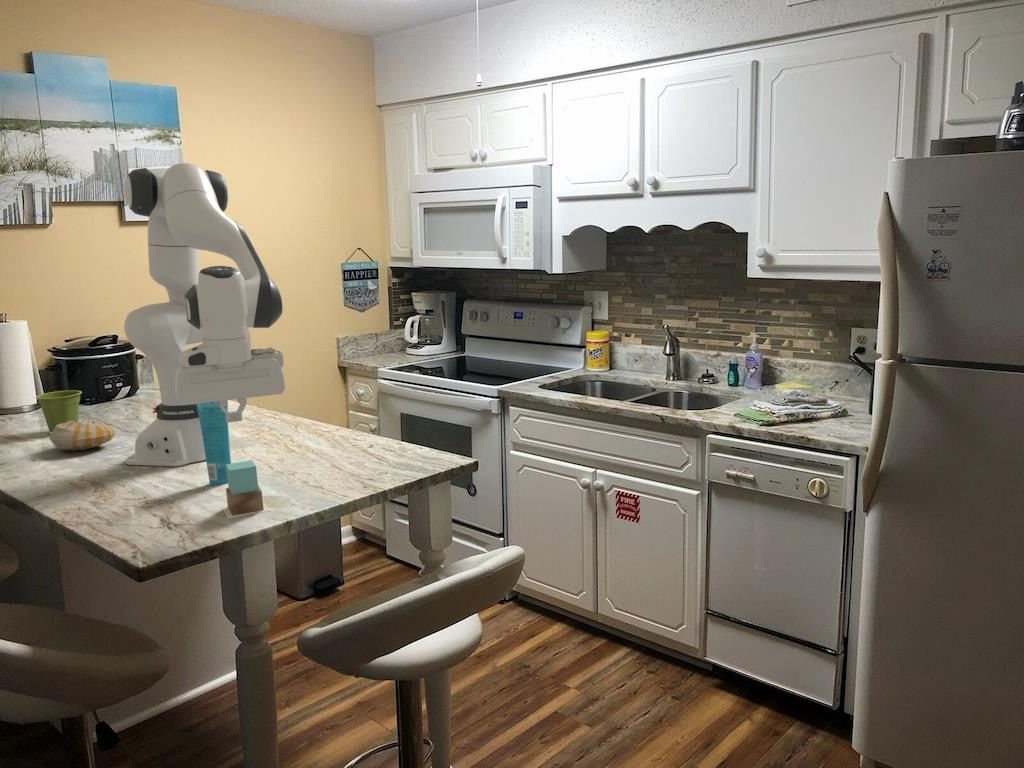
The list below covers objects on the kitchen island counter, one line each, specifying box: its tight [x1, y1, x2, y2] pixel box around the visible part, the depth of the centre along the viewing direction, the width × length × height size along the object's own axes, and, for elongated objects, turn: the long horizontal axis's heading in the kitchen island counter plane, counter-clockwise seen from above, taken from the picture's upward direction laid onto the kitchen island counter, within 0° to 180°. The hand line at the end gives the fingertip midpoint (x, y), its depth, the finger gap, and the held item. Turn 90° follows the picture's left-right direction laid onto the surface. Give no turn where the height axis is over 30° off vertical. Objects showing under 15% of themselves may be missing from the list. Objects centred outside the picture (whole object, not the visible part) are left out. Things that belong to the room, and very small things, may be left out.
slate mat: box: [221, 500, 271, 519], centre depth 167 cm, size 14×12×1 cm
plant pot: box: [35, 389, 83, 433], centre depth 242 cm, size 12×12×11 cm
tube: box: [196, 400, 232, 487], centre depth 185 cm, size 7×5×19 cm, turn 88°
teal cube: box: [226, 460, 259, 495], centre depth 166 cm, size 5×5×5 cm
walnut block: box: [225, 485, 264, 516], centre depth 167 cm, size 6×6×4 cm
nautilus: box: [49, 421, 116, 451], centre depth 224 cm, size 8×22×15 cm
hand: (234, 421), depth 164 cm, fingers closed
